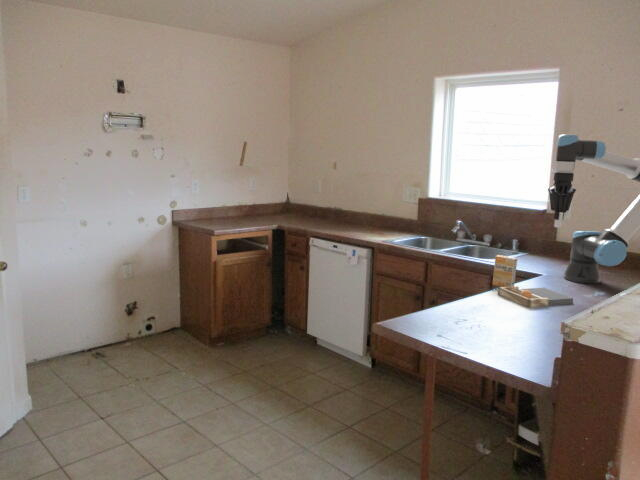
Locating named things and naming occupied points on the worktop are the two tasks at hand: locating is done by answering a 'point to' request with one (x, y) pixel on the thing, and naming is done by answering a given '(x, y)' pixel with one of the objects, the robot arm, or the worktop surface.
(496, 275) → the supplement box
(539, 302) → the wooden tray frame
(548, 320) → the worktop surface
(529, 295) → the ball
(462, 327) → the worktop surface
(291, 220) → the worktop surface
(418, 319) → the worktop surface
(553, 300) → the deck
